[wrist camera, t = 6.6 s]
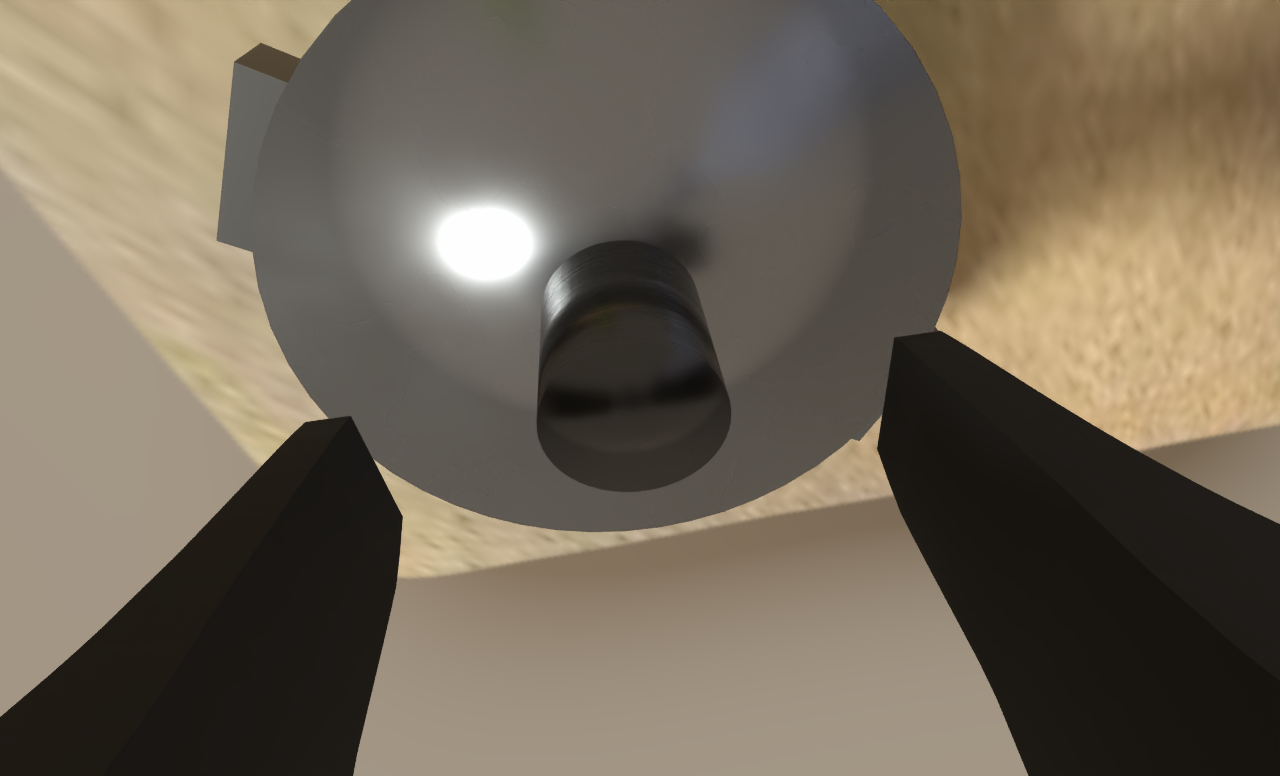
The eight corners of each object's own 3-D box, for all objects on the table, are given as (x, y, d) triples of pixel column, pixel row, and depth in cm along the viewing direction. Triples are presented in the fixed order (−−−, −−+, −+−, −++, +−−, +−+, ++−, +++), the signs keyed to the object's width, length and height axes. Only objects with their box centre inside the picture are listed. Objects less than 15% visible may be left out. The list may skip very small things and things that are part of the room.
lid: (795, -342, 8) (943, -455, 5) (995, 356, 15) (1109, 493, 12) (103, 184, 11) (-76, 322, 8) (538, 560, 18) (533, 712, 15)
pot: (951, 93, 17) (1095, 190, 13) (735, 406, 23) (779, 550, 19) (366, -228, 13) (254, -261, 8) (285, 267, 19) (192, 412, 14)
